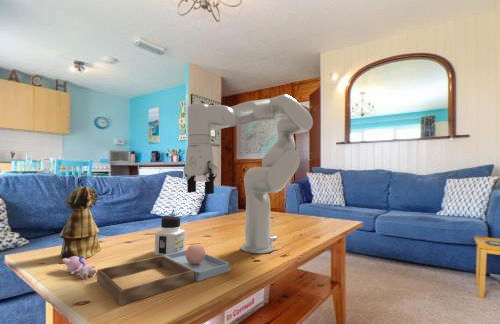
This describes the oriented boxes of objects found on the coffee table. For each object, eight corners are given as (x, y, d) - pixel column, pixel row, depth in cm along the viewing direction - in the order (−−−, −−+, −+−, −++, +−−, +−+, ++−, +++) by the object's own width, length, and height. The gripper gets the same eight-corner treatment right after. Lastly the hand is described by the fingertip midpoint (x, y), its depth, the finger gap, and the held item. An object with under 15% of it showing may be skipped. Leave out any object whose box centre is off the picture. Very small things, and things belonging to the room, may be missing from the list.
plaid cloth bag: (35, 258, 83) (59, 181, 85) (63, 247, 96) (83, 181, 98) (80, 268, 83) (102, 191, 85) (101, 256, 97) (120, 190, 99)
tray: (192, 255, 92) (193, 248, 92) (230, 270, 78) (230, 263, 78) (162, 262, 84) (163, 255, 84) (198, 281, 70) (198, 272, 70)
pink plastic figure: (102, 280, 73) (76, 261, 81) (105, 259, 73) (79, 242, 81) (78, 288, 68) (53, 267, 76) (81, 266, 67) (55, 247, 75)
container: (174, 256, 90) (175, 218, 91) (154, 255, 92) (155, 217, 92) (184, 250, 98) (185, 215, 98) (165, 248, 99) (166, 214, 100)
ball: (198, 259, 85) (198, 240, 86) (208, 264, 81) (209, 244, 81) (181, 263, 81) (182, 243, 81) (192, 268, 77) (192, 248, 77)
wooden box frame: (162, 265, 82) (163, 255, 82) (193, 282, 69) (193, 270, 70) (96, 281, 69) (97, 269, 69) (120, 305, 57) (120, 291, 57)
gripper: (175, 143, 90) (176, 192, 90) (206, 138, 79) (207, 195, 78) (193, 144, 96) (194, 190, 96) (225, 140, 84) (226, 193, 84)
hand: (200, 192), depth 87 cm, fingers open, 9 cm apart
